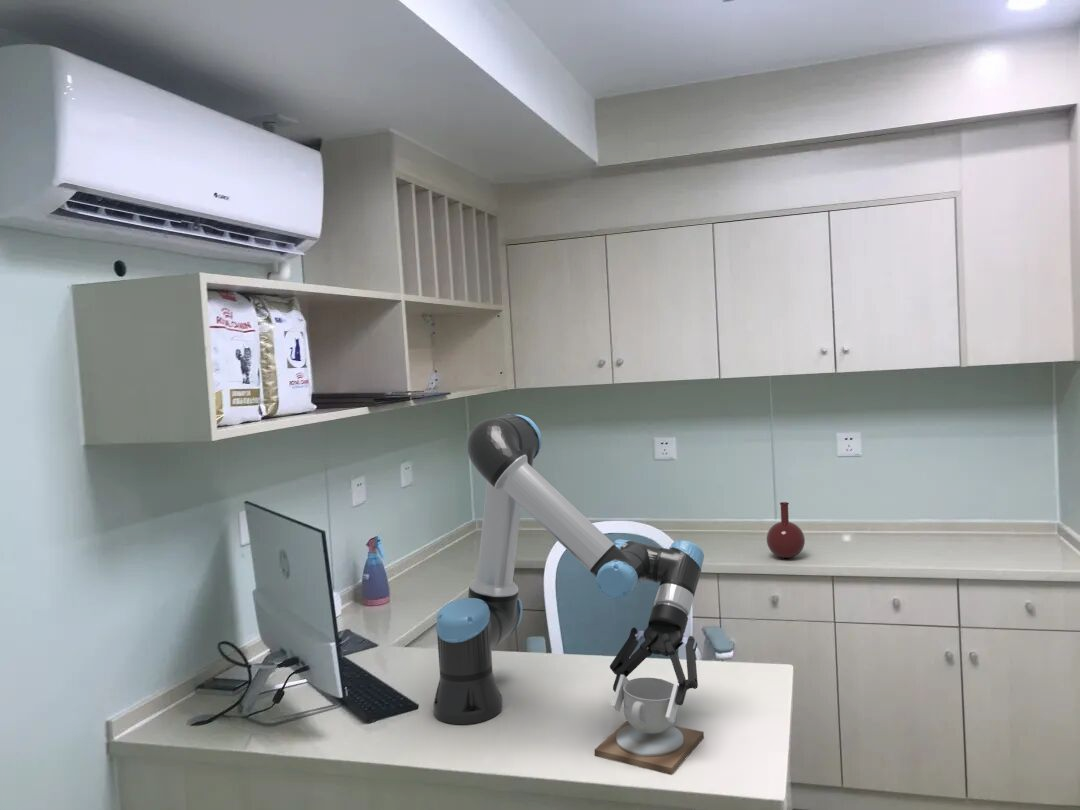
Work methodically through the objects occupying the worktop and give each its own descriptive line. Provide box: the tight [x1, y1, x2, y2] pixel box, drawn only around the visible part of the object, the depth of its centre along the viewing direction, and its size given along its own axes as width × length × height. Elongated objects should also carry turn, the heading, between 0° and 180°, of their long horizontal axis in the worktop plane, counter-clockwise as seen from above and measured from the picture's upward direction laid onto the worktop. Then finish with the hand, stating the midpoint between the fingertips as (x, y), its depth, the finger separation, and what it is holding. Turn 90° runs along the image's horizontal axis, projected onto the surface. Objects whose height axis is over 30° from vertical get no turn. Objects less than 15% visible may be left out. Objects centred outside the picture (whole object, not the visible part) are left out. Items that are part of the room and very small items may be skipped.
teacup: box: [622, 677, 678, 733], centre depth 162 cm, size 14×11×8 cm
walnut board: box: [593, 720, 705, 775], centre depth 162 cm, size 16×16×2 cm
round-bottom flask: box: [766, 501, 806, 559], centre depth 298 cm, size 13×13×20 cm
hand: (641, 714), depth 160 cm, fingers closed on teacup, 11 cm apart
